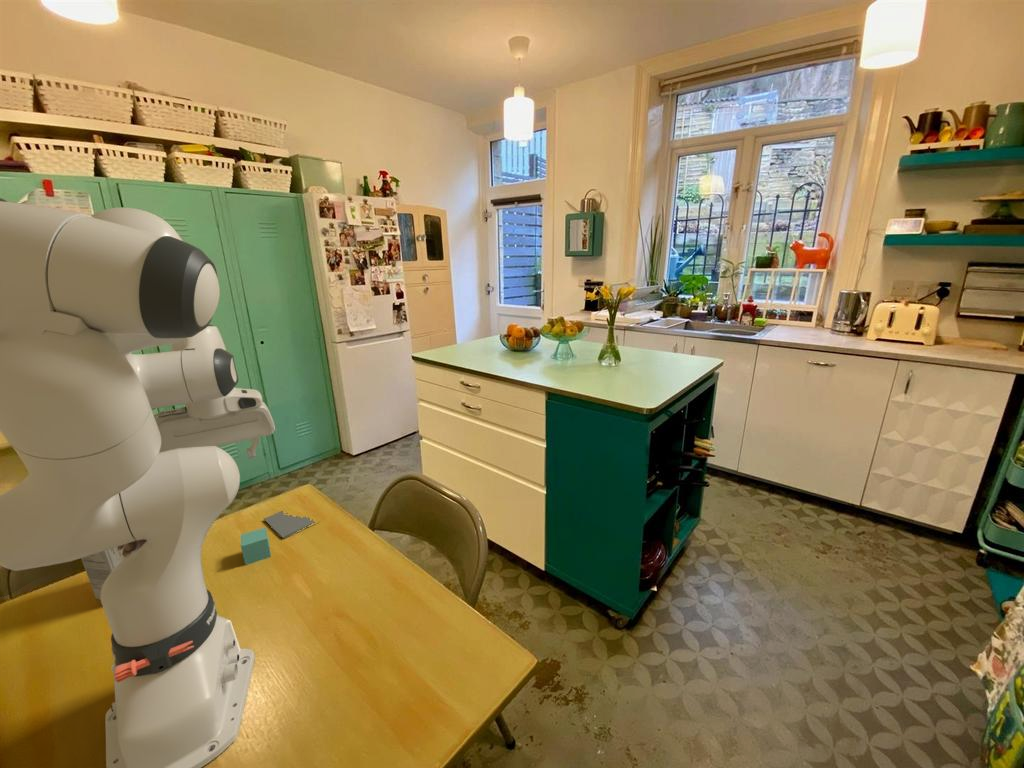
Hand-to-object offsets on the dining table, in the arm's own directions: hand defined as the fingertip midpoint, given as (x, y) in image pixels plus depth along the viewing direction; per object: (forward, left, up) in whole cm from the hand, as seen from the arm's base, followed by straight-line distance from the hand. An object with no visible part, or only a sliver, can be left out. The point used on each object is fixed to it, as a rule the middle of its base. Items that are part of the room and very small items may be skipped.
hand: (227, 462), depth 91 cm
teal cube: (-2, -2, -23) cm, 23 cm away
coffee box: (+2, +21, -23) cm, 32 cm away
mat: (+8, -10, -23) cm, 26 cm away
